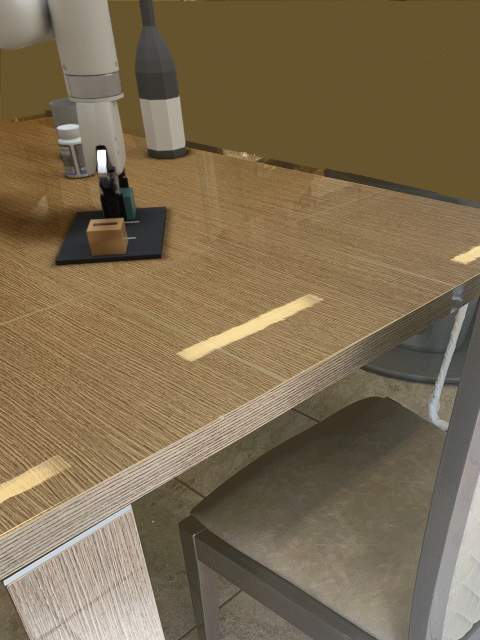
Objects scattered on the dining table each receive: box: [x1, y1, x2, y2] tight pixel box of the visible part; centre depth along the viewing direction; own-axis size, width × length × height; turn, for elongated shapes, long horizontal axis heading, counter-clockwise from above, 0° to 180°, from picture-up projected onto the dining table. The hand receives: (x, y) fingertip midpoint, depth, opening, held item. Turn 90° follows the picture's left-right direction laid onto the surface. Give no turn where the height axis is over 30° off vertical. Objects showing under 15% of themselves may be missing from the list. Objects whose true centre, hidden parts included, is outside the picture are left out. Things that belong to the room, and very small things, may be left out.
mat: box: [55, 206, 167, 266], centre depth 95 cm, size 14×20×1 cm
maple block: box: [86, 218, 128, 256], centre depth 89 cm, size 4×4×4 cm
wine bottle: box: [134, 0, 187, 160], centre depth 123 cm, size 8×8×30 cm
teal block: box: [99, 186, 137, 219], centre depth 100 cm, size 4×4×4 cm
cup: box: [49, 97, 78, 139], centre depth 128 cm, size 8×8×10 cm
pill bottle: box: [56, 124, 90, 179], centre depth 118 cm, size 5×5×8 cm
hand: (119, 211), depth 100 cm, fingers open, 7 cm apart
